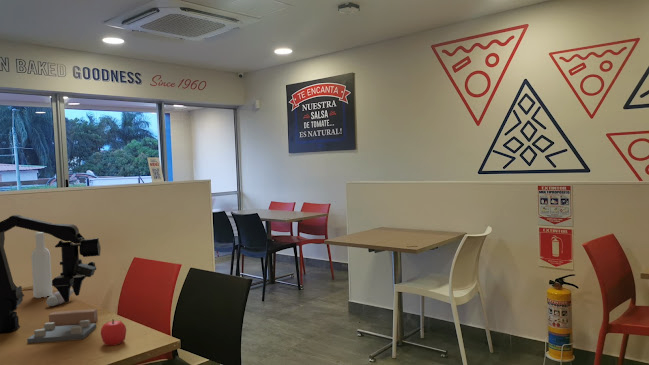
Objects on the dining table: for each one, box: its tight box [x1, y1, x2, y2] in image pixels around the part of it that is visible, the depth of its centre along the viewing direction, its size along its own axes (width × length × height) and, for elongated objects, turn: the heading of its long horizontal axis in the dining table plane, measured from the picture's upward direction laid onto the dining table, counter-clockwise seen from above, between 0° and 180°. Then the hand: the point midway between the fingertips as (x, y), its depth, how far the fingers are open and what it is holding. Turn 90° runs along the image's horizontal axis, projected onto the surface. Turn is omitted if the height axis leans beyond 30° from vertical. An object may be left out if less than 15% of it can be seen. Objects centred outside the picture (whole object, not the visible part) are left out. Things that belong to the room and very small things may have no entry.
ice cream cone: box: [46, 288, 74, 307], centre depth 208 cm, size 6×6×15 cm
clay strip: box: [48, 308, 99, 326], centre depth 179 cm, size 16×4×4 cm, turn 99°
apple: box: [100, 318, 127, 346], centre depth 155 cm, size 8×8×8 cm
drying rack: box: [26, 320, 97, 344], centre depth 165 cm, size 18×12×4 cm, turn 97°
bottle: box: [31, 231, 54, 299], centre depth 220 cm, size 8×8×30 cm
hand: (72, 298), depth 178 cm, fingers open, 9 cm apart
